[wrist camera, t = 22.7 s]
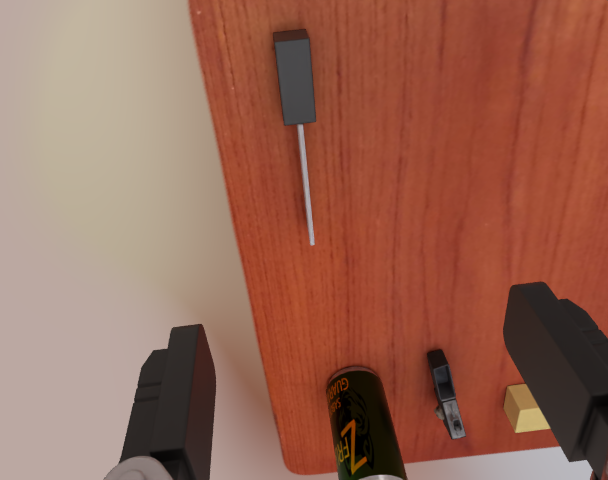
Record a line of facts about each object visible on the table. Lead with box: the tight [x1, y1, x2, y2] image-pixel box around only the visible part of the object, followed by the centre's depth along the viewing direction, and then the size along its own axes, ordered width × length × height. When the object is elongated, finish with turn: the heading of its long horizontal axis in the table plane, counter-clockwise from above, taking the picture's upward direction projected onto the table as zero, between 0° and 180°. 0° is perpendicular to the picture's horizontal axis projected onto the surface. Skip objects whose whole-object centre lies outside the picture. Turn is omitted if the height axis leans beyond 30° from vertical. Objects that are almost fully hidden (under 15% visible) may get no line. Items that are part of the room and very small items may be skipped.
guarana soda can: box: [326, 366, 408, 480], centre depth 45 cm, size 5×5×12 cm
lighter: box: [427, 350, 466, 440], centre depth 48 cm, size 8×2×5 cm
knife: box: [273, 29, 316, 245], centre depth 34 cm, size 14×2×3 cm, turn 5°
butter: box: [503, 384, 550, 433], centre depth 51 cm, size 6×4×3 cm, turn 95°
